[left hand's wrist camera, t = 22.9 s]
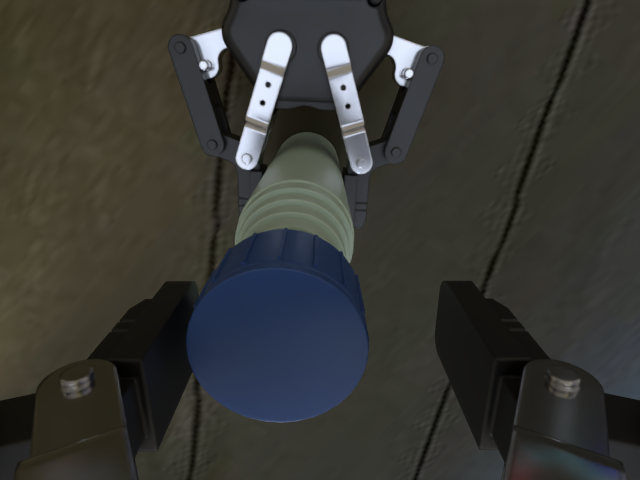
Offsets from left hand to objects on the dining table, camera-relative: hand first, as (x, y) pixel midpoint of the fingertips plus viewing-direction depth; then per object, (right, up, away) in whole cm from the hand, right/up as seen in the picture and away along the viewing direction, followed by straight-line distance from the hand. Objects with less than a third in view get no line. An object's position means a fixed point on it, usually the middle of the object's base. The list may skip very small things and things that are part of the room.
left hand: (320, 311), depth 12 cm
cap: (-1, 0, -2) cm, 2 cm away
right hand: (-1, +3, +13) cm, 14 cm away
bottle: (-1, +7, +19) cm, 20 cm away
